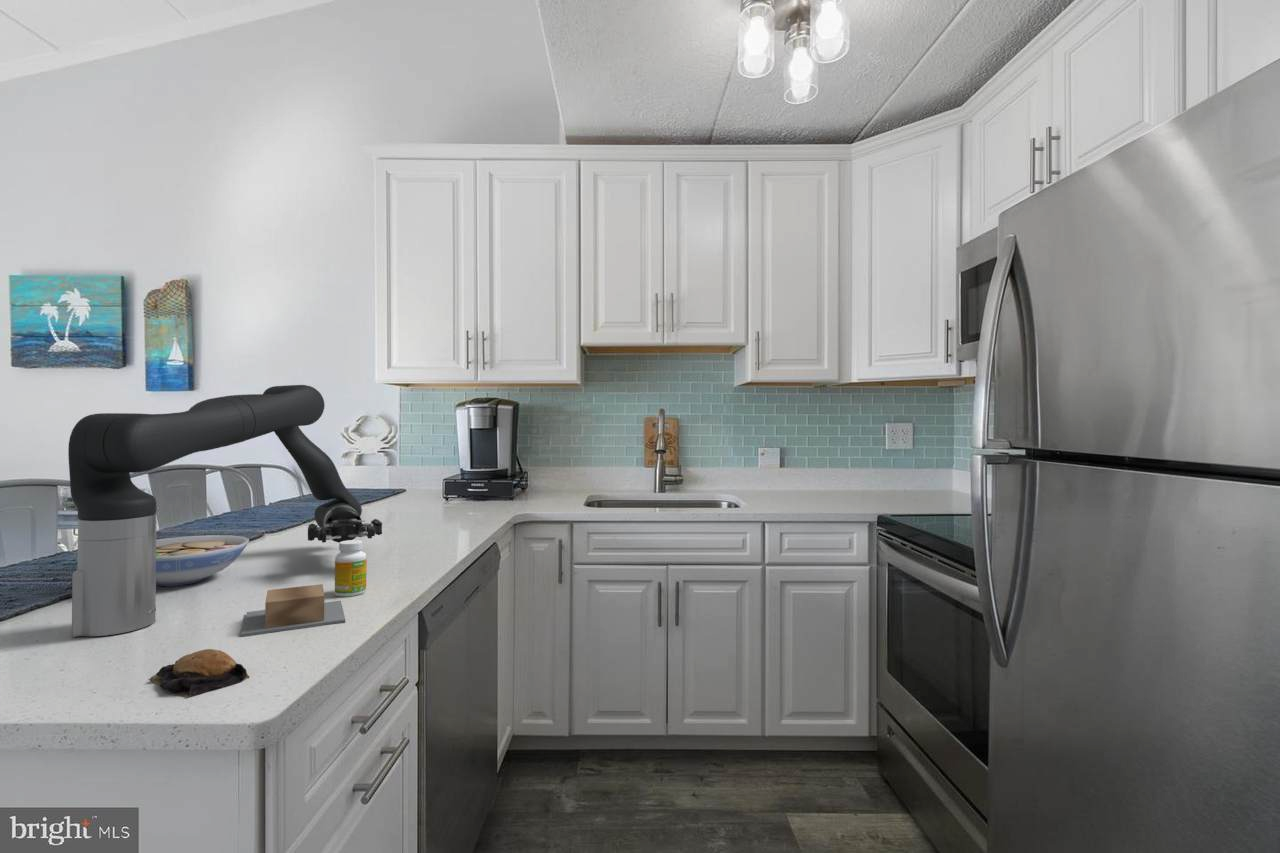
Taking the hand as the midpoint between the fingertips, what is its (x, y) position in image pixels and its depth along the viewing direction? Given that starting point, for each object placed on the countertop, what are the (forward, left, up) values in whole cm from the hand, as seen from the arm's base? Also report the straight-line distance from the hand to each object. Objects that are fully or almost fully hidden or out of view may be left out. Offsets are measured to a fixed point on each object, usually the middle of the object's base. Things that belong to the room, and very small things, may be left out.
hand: (347, 535), depth 123 cm
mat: (-9, -23, -9) cm, 27 cm away
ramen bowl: (-29, +14, -9) cm, 34 cm away
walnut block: (-9, -24, -9) cm, 27 cm away
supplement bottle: (0, -11, -9) cm, 15 cm away
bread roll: (-19, -44, -10) cm, 49 cm away
